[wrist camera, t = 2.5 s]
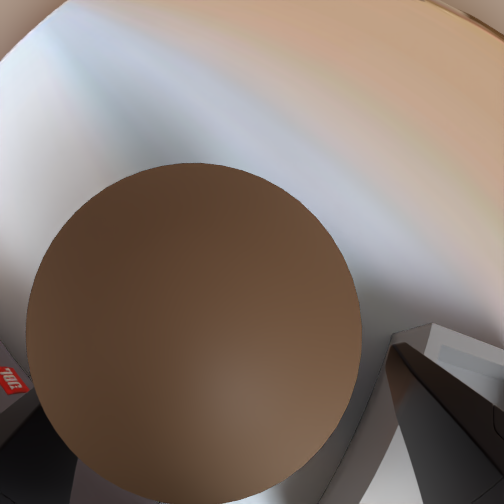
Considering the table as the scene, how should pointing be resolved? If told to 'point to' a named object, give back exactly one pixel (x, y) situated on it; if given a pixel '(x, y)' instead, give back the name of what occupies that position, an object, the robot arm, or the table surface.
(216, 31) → the table surface
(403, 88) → the table surface
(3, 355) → the bluetooth speaker
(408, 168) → the table surface
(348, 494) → the box
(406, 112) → the table surface
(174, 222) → the walnut handle
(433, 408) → the robot arm
